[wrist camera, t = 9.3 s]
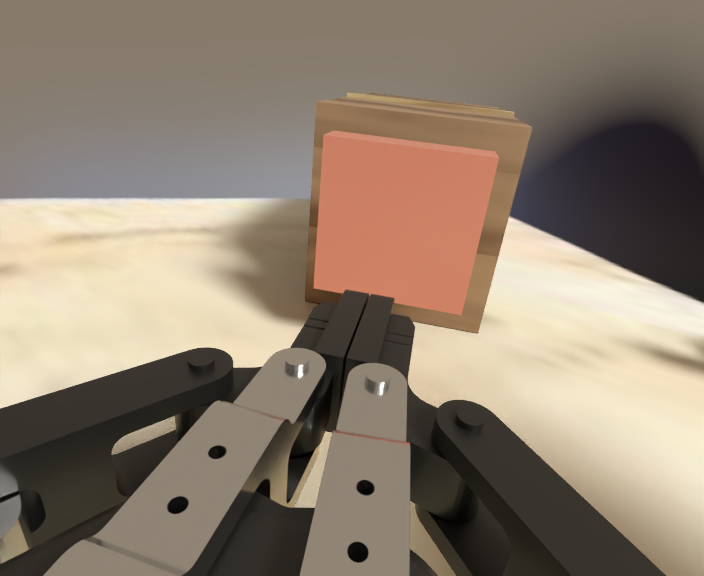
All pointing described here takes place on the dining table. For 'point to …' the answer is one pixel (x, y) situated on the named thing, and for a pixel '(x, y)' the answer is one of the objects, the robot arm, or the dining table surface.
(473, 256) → the salmon square plate
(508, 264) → the dining table surface
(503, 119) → the block
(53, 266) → the dining table surface
